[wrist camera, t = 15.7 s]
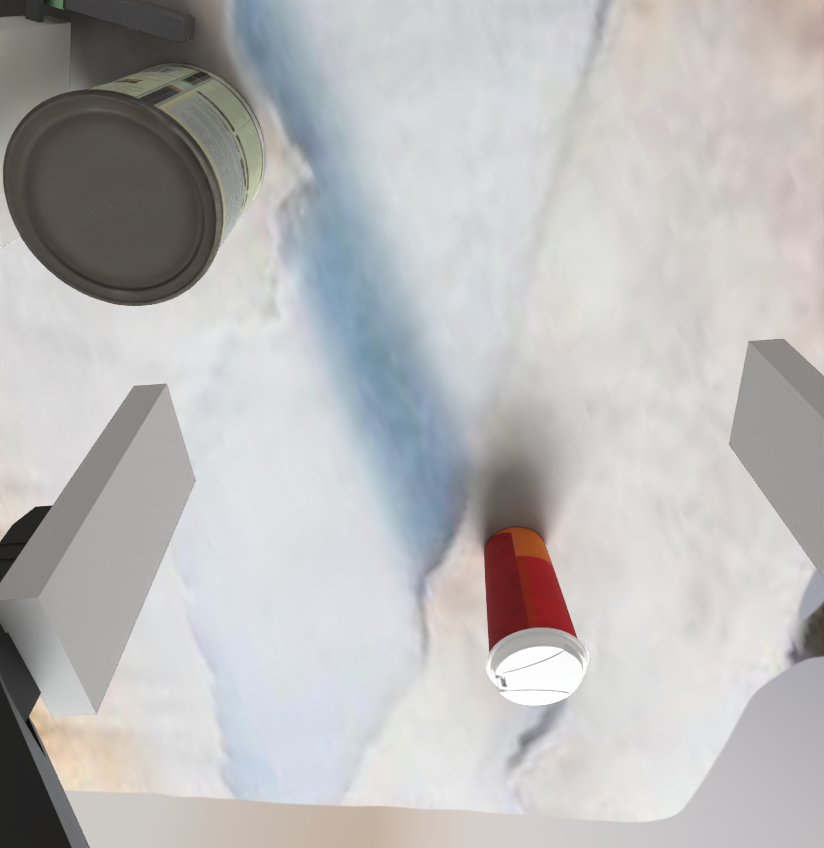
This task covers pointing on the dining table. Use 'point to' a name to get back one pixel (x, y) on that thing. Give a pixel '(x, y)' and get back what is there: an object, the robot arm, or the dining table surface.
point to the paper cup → (529, 622)
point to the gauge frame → (134, 16)
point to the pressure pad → (28, 78)
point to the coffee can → (134, 181)
